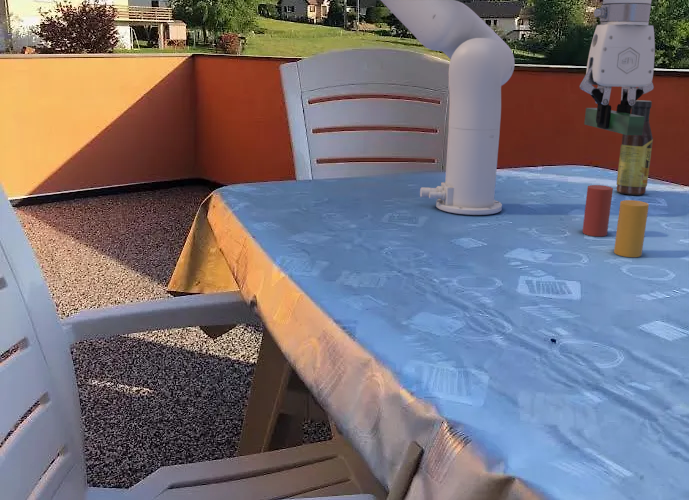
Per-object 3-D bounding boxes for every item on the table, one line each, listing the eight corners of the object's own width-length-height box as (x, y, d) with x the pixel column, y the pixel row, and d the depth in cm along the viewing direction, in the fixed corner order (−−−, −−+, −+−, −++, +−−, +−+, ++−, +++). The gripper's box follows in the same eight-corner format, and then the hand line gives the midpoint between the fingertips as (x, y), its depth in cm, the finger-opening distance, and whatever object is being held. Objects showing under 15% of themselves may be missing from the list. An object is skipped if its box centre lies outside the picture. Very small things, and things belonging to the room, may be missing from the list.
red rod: (588, 236, 118) (593, 189, 116) (578, 230, 122) (583, 184, 120) (611, 236, 119) (617, 189, 117) (600, 230, 123) (606, 185, 120)
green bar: (642, 135, 115) (644, 116, 115) (627, 135, 115) (629, 116, 114) (597, 124, 131) (599, 107, 130) (584, 124, 130) (585, 107, 130)
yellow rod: (621, 257, 107) (628, 205, 105) (609, 250, 111) (615, 200, 109) (646, 257, 107) (653, 205, 105) (633, 250, 111) (640, 200, 109)
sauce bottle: (648, 196, 151) (661, 102, 146) (617, 195, 153) (629, 101, 147) (642, 190, 158) (654, 99, 152) (612, 189, 159) (624, 99, 153)
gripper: (588, 14, 113) (576, 130, 118) (683, 16, 115) (667, 130, 120) (569, 16, 120) (558, 125, 125) (658, 18, 122) (644, 125, 127)
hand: (611, 127), depth 123 cm, fingers closed on green bar, 2 cm apart
